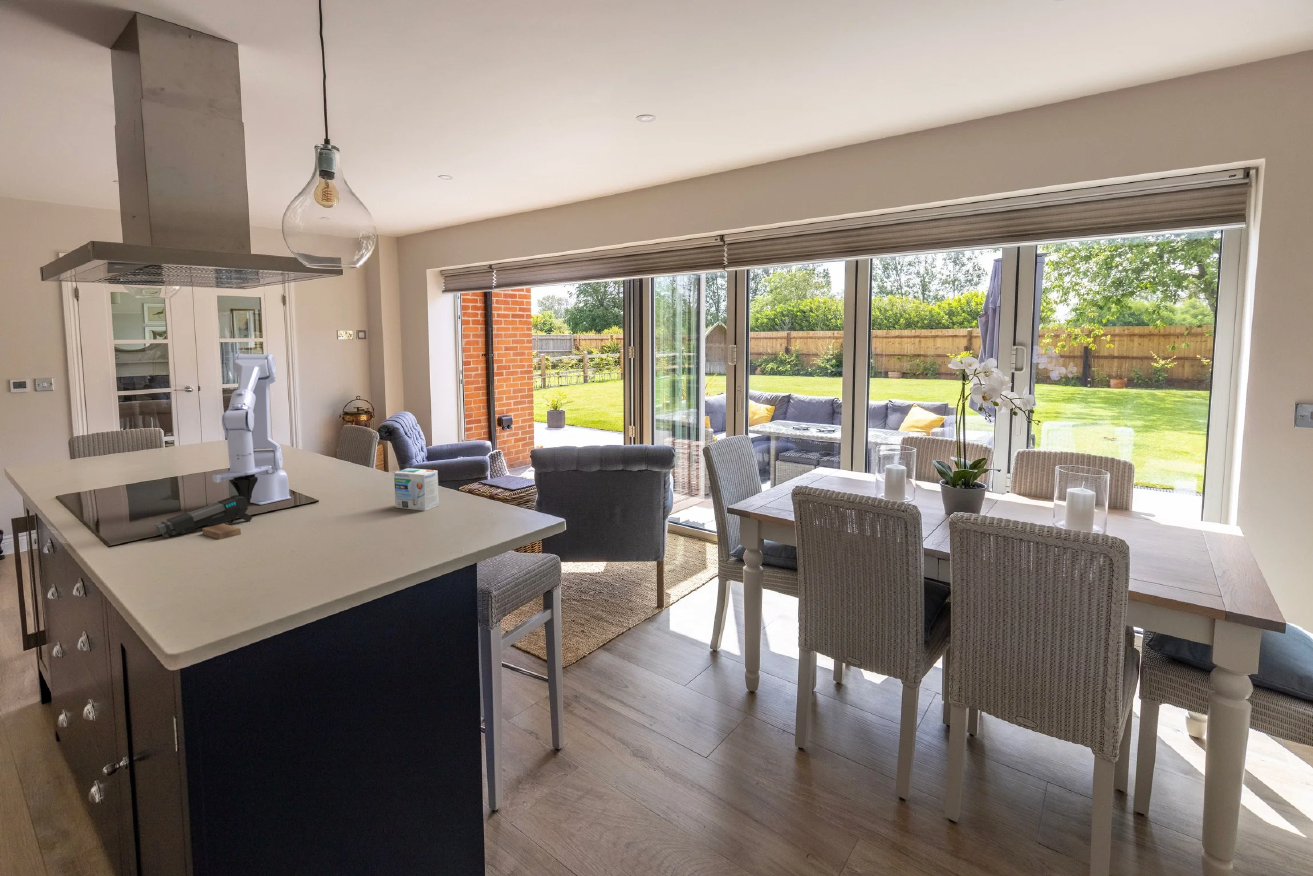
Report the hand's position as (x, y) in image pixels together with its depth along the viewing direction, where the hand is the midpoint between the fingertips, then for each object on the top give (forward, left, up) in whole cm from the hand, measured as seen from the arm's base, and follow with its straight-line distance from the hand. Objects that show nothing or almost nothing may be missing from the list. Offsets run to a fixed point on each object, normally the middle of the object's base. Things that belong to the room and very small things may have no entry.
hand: (245, 503), depth 182 cm
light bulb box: (-33, +29, -5) cm, 44 cm away
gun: (+11, +1, -5) cm, 11 cm away
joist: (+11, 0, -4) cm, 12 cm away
